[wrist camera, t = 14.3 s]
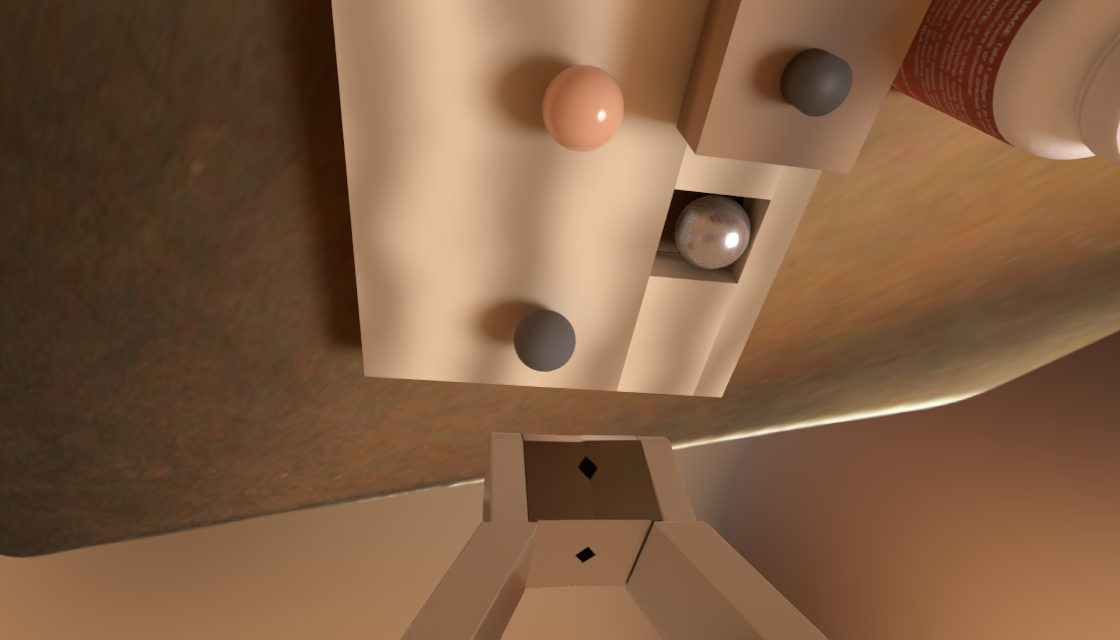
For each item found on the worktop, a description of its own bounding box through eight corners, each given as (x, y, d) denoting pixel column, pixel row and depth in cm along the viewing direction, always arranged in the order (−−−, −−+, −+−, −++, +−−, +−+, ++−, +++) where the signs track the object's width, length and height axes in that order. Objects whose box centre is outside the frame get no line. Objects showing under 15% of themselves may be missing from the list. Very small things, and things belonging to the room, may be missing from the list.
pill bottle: (919, 121, 26) (1130, 239, 17) (841, 32, 23) (1042, 116, 14) (1054, -1, 23) (1392, 63, 14) (983, -118, 20) (1341, -128, 12)
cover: (676, 127, 22) (704, 167, 19) (723, -52, 19) (769, -40, 15) (814, 144, 23) (865, 186, 20) (886, -23, 19) (962, -6, 16)
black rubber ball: (511, 342, 29) (510, 382, 26) (516, 295, 27) (517, 333, 25) (568, 346, 29) (573, 386, 27) (577, 300, 27) (583, 338, 25)
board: (374, 345, 32) (364, 376, 30) (343, -88, 20) (323, -85, 18) (709, 368, 34) (721, 397, 32) (859, 0, 22) (893, 10, 20)
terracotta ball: (536, 131, 22) (538, 159, 20) (545, 50, 20) (550, 70, 18) (609, 140, 23) (620, 169, 20) (624, 61, 21) (639, 83, 19)
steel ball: (698, 240, 29) (651, 253, 28) (719, 178, 27) (670, 187, 26) (750, 273, 27) (703, 290, 26) (777, 209, 25) (728, 222, 23)
